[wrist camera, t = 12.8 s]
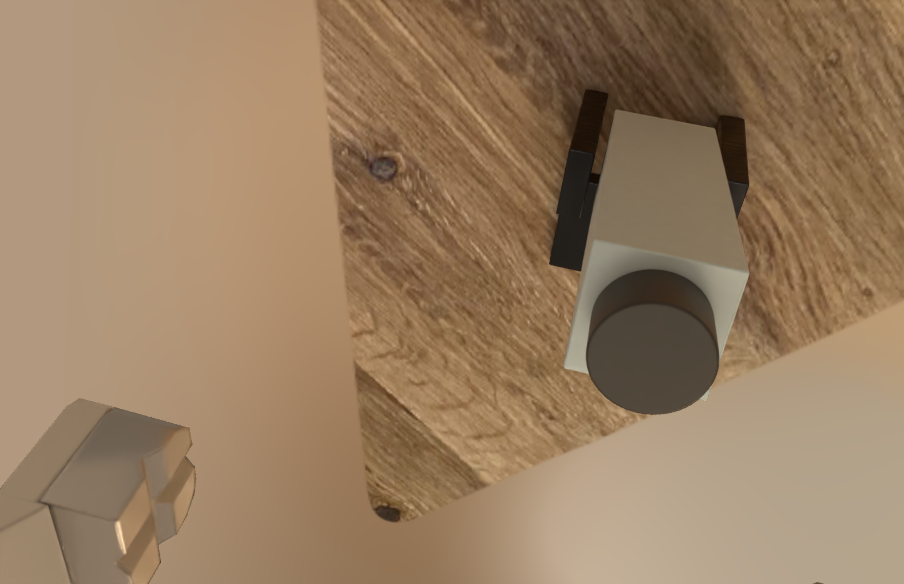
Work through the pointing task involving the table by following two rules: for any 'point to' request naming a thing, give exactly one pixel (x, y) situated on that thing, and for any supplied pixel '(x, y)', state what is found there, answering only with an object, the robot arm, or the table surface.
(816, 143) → the table surface
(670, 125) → the vial
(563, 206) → the stand
